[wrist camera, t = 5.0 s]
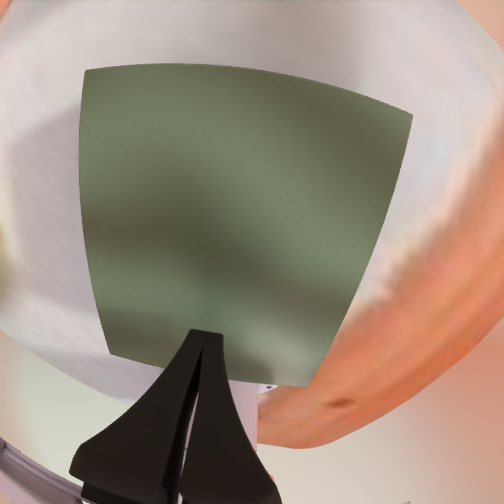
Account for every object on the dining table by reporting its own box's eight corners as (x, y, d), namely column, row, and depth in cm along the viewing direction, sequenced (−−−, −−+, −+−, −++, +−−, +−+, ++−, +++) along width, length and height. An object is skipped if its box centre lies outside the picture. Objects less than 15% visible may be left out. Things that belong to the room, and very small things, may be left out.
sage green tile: (306, 379, 15) (307, 387, 14) (113, 347, 14) (109, 354, 14) (405, 113, 8) (413, 114, 7) (93, 71, 7) (84, 70, 7)
